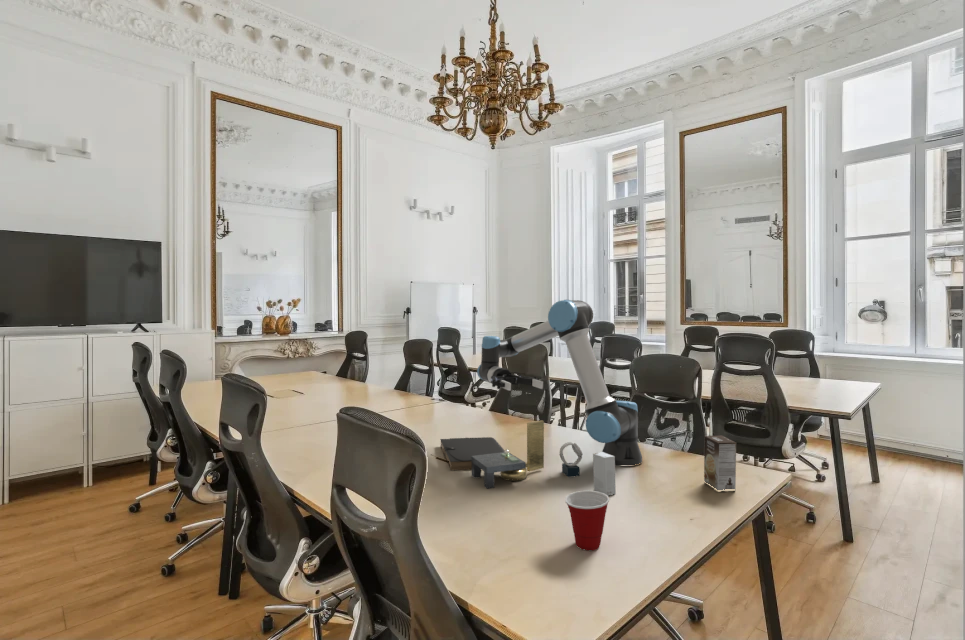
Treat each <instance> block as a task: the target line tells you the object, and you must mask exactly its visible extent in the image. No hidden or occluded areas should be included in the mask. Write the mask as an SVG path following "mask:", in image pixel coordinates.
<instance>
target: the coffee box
mask: <svg viewBox="0 0 965 640" xmlns="http://www.w3.org/2000/svg"><path fill="white" fill-rule="evenodd" d="M703 453H704V458H703V459H704V460H703V461H704V462H703V464H704V465H703V467H704V468H703V469H704V471H703V473H704V474H703V477H704V478H703V480H704V481H705V482H706V483H708V484H710V485H711V486H713V487H714V488H716V489H717V490H723V489H724V490H725V489H735V490H736V480H737V478H736V477H737V476H736V475H737V473H736V471H737V442H736V441H734V440H732V439H731V438H729V437H726V436H724V435H722V434H721V435H704V451H703ZM704 481H703V482H704Z"/></svg>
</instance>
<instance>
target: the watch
mask: <svg viewBox="0 0 965 640" xmlns="http://www.w3.org/2000/svg"><path fill="white" fill-rule="evenodd" d="M568 446H571V447H572V448H571V449H572V450H573V452H574V453H575V455H576V456H577V459H576V460H575V461H574V462H567V460H566V459H565V456H564V450H565V448H567V447H568ZM558 455H559V457H560V460H561V461H562V464H561V473H562V474H564V475H565V476H566V477H567V478H573V477H574V476H575V477H580V476H581V475H580V469H581V468H580V466H579V464H580V462H582V459H583V452H582V450H581V448H580V447H579V445H578V444H577V443H576V442H574V443H573V442H571V441H569V442H565V443H564V444H562V445H561V446H560V448H559V454H558Z"/></svg>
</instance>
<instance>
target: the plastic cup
mask: <svg viewBox="0 0 965 640" xmlns="http://www.w3.org/2000/svg"><path fill="white" fill-rule="evenodd" d="M610 500H611V499H610V497H609V496H607V495H606V494H604V493H601V492H597V491H595V490H579V491H574V492H571V493H568V494H567V495H566V496H565V497H564V501H565V504H566V505H567V506H568V507H567V508H568V511H569V514H570V518H571V519H570V520H571V524H572V532H573V536H574V542H575V546H576V545H577V546H578V547H579V548H578V547H577V546H576V547H577V548H578V549H580V548H581V549H580V550H583V549H585V550H584V551H589V550H592V551H596V550H599V548H600V546H601V542H602V537H603V533H604V532H603V531H604V527H605V526H604V525H605V520H606V519H605V518H606V513H607V509H608V504H609V502H610Z"/></svg>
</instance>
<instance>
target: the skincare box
mask: <svg viewBox="0 0 965 640" xmlns="http://www.w3.org/2000/svg"><path fill="white" fill-rule="evenodd" d="M592 458H593V459H592V460H593V461H592V464H593V469H592V470H593V491H597V492H601V493H604V494H606V495H607V496H608V497H609V495H610V496H613V494H614V495H616V493H617V492H616V487H617V486H616V465H615V456H612V455H610V454H607V453H604V452H602V451H600V452H595V453H592Z"/></svg>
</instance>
